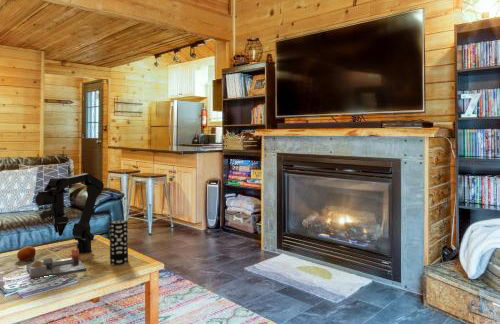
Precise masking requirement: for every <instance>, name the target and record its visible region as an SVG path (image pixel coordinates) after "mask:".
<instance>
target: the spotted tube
mask: <svg viewBox="0 0 500 324" xmlns="http://www.w3.org/2000/svg"><path fill="white" fill-rule="evenodd" d="M128 222H129V221H128V220H123V219H120V220H119V219H118V220H117V219H116V220H111V221H109V264H110V265H111V266H112V265H113V266H121V265H125V264H128V263H129V243H128V242H129V236H128V235H129V233H128V232H129V231H128V230H129V229H128V228H129V227H128V226H129V225H128Z"/></svg>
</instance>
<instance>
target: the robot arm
mask: <svg viewBox="0 0 500 324" xmlns="http://www.w3.org/2000/svg"><path fill="white" fill-rule="evenodd" d="M82 182H83V185H84V186H85V187H86V194H87V195H86V200H85V203H84V204H83V205H84V206H83V209H82V211H81V216H80V219H79V221H78V222H75V223H74V224H73V227H72V230H71V231H72V233H71V235H72V236H73V239H74V240H75V241H77V242H76V249H79V254H86V253H91V252H93V250H92V241H94V240H95V239H94V238H95V235H93V233H92V232H91V230H92V229H91V223H90V221H91V218H92V215H93V211H94V210H95V205H96V202H97V199H98V197H99V196H100V195H101V194H102V192H103V190H104V188H105V185H104V183H103V181H101V180H100V179H99V178H97V177H94V176H93V174H91V173H87V172H86V173H85V172H83V173H80V174H75V175H71V176H66V177H51V178H49V180H48V183H47V184H46V187H45V188H44V190H42V191H38V193H37V195H36V196H35V198H34V201H35V204H36V205H37V206H39V207H42V206H48V205H49V208H47V209H44V210H42V211H40V212H38V216H39V219H40V220H41V221H43V220H46V219H47V218H48V219H49V220H50V221H51V222H52V224H53V228H54V231H55V233H58V236H59V237H62V235H63V233H64V231H65V228H67V227H66V226H67V224H68V223H69V220H70V219H69V217H68V216H67V215H66V212H65V208H66V204H65V194H68V191H67V190H66V189H67V188H68V187H69V186H71V185H75V184H79V183H82Z"/></svg>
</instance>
